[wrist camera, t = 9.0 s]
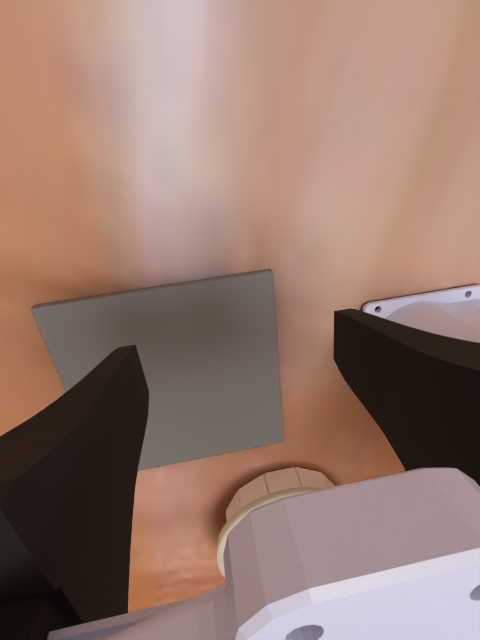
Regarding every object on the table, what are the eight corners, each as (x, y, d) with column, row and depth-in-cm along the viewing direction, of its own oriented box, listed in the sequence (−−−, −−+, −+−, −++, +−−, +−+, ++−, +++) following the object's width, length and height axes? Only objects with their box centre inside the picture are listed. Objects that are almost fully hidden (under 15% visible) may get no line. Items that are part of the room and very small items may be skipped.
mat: (270, 269, 22) (272, 271, 21) (282, 436, 28) (284, 441, 28) (34, 305, 20) (30, 308, 20) (104, 471, 27) (103, 477, 26)
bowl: (337, 458, 30) (351, 486, 28) (335, 530, 35) (347, 560, 33) (219, 482, 29) (223, 513, 27) (234, 553, 34) (238, 586, 32)
